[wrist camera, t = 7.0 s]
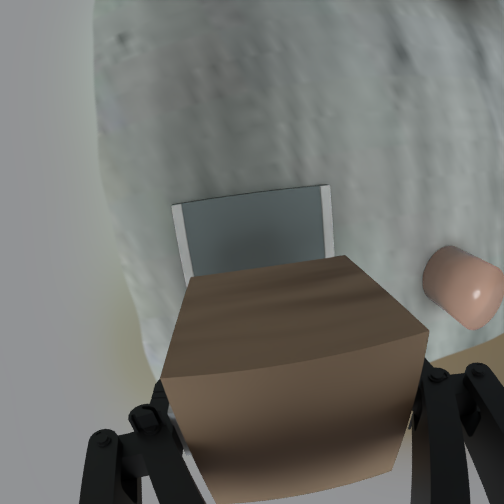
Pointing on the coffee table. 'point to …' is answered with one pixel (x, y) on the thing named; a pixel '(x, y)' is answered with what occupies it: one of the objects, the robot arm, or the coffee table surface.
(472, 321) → the pink cylinder
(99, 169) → the coffee table surface
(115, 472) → the robot arm
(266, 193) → the mat
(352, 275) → the cube
